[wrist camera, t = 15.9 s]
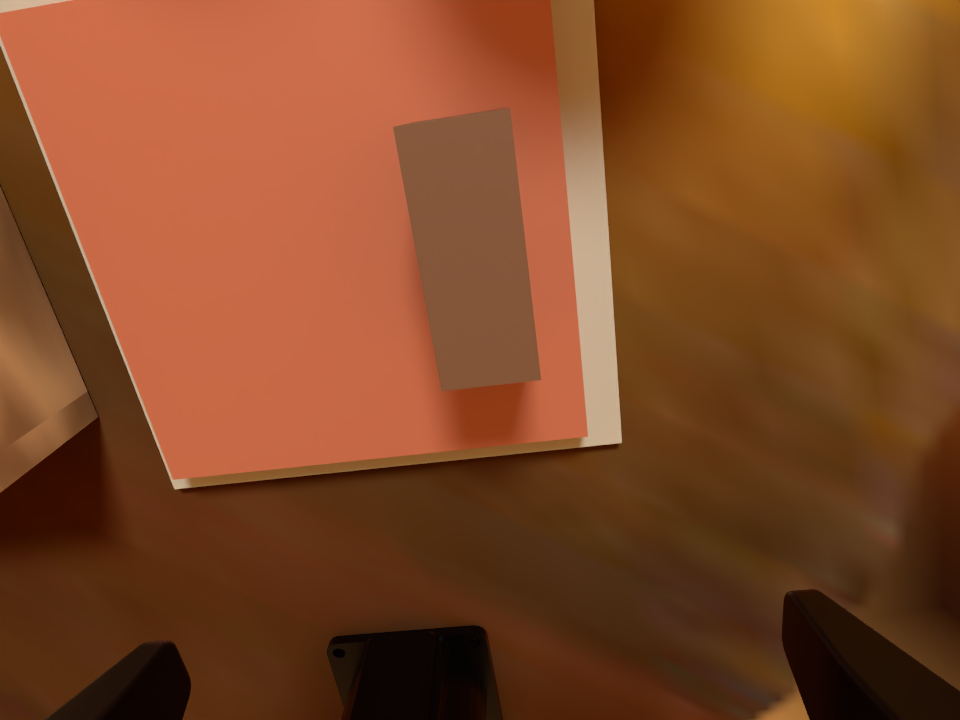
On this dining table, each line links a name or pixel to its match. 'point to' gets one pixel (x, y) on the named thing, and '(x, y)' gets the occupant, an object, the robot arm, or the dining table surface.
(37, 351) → the toolbox
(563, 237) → the lid
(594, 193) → the mat
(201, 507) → the dining table surface
